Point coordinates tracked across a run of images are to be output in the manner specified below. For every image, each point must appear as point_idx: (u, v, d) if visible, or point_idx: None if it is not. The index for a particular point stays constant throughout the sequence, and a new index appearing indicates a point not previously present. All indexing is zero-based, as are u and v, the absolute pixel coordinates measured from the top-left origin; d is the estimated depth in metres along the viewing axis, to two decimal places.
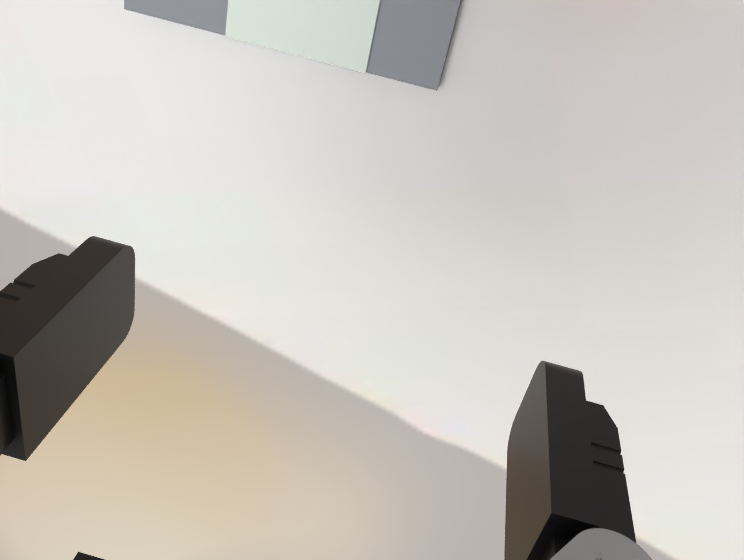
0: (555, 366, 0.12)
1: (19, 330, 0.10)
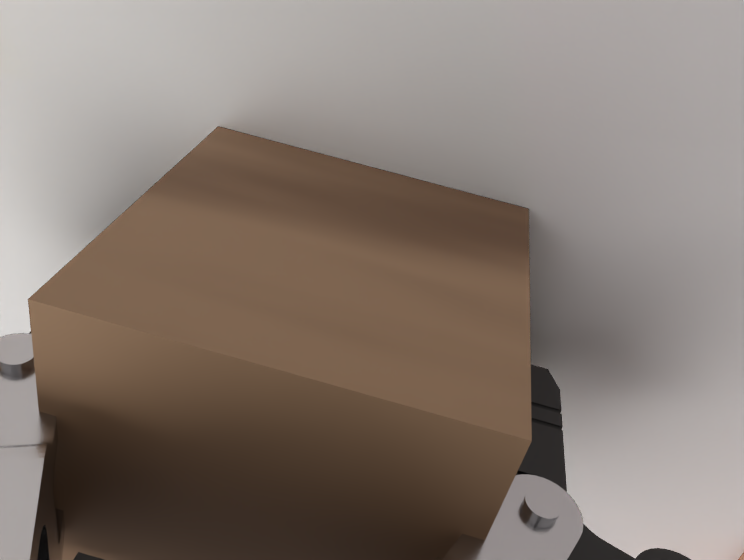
0: None
1: None
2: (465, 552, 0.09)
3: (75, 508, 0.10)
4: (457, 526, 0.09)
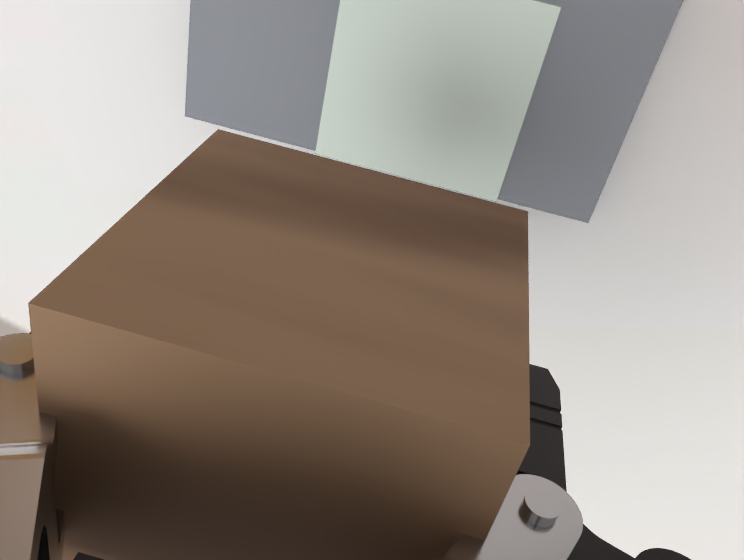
0: None
1: None
2: (465, 552, 0.09)
3: (75, 510, 0.10)
4: (456, 528, 0.09)
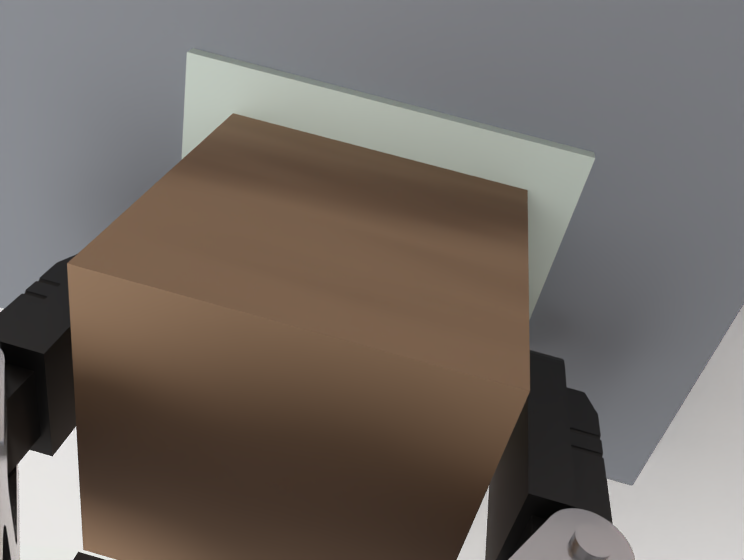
0: (537, 353, 0.12)
1: (48, 327, 0.11)
2: None
3: (104, 466, 0.11)
4: (462, 474, 0.09)
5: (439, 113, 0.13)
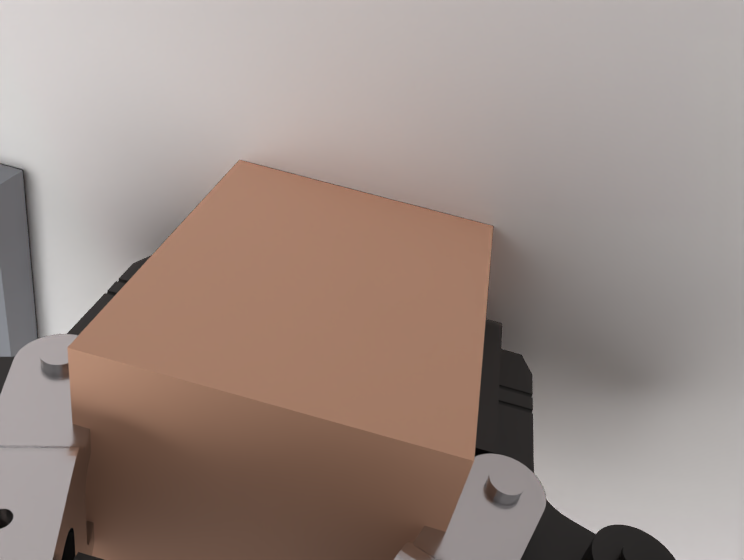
0: None
1: None
2: (428, 527, 0.09)
3: None
4: None
5: None
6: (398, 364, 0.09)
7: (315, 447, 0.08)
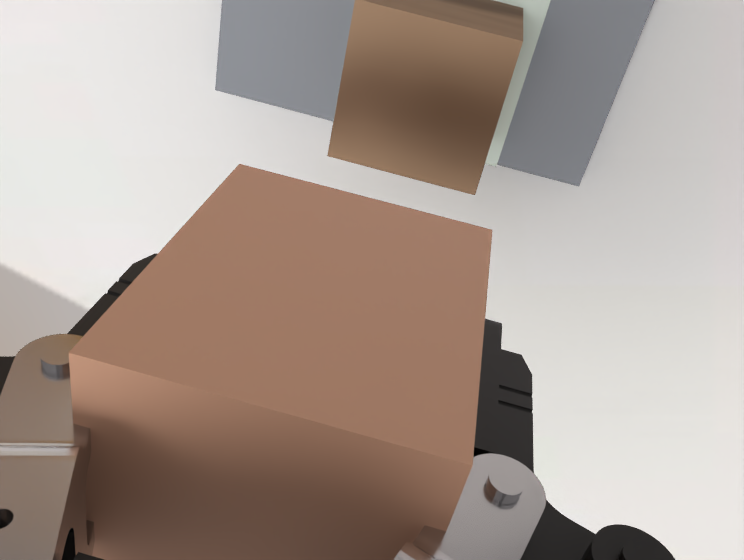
0: None
1: None
2: (427, 527, 0.09)
3: (348, 101, 0.26)
4: (497, 86, 0.25)
5: None
6: (397, 368, 0.09)
7: (315, 451, 0.08)
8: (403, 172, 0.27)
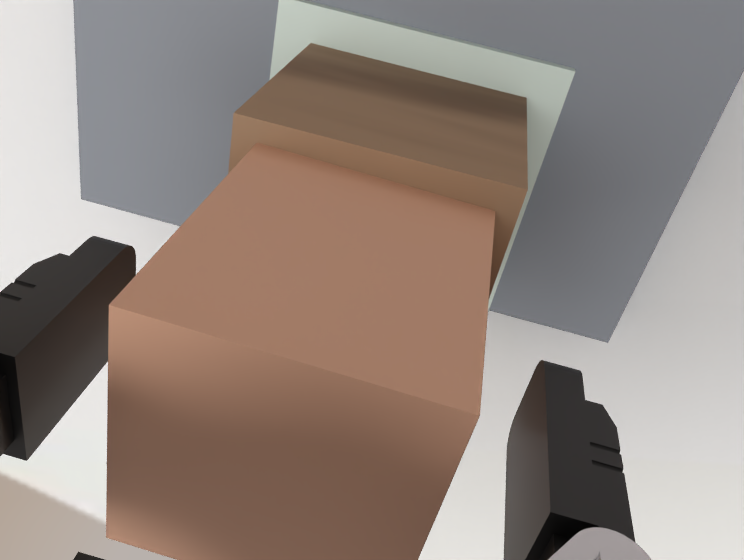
0: (554, 366, 0.12)
1: (20, 330, 0.10)
2: None
3: None
4: None
5: (462, 40, 0.18)
6: (410, 329, 0.10)
7: (334, 401, 0.09)
8: None
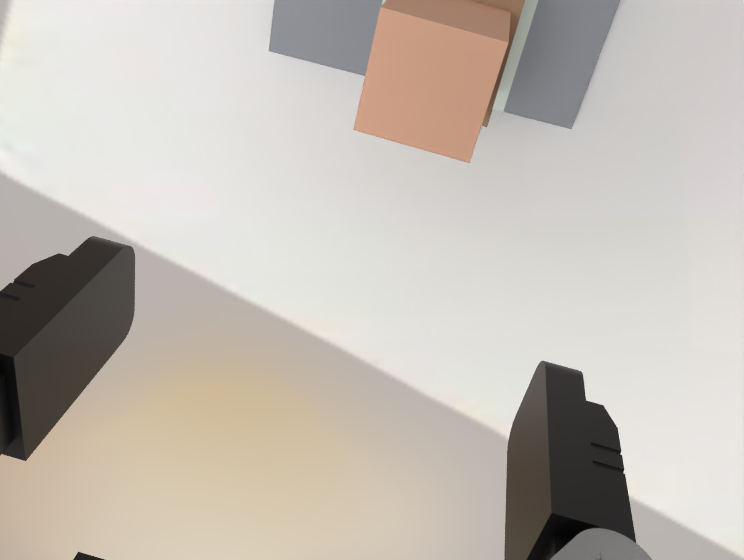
0: (555, 366, 0.12)
1: (19, 330, 0.10)
2: None
3: None
4: None
5: None
6: (481, 26, 0.27)
7: (457, 42, 0.26)
8: None
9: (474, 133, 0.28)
